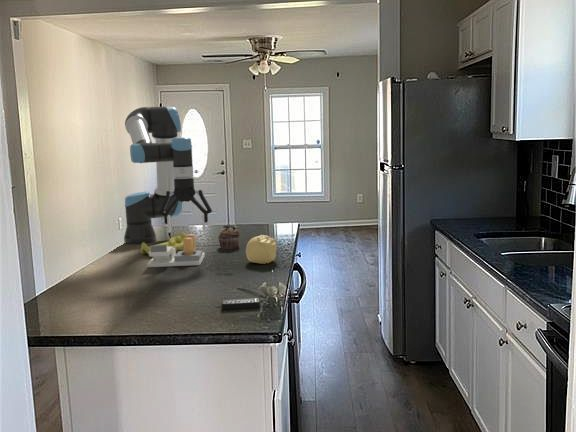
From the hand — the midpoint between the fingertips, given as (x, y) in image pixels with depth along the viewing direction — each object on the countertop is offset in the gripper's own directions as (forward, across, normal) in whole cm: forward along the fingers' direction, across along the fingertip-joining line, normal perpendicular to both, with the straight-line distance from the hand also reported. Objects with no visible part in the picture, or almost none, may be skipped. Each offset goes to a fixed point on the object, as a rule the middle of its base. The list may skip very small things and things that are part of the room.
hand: (187, 231), depth 219 cm
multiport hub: (+11, +24, -62) cm, 68 cm away
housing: (+12, -5, +1) cm, 13 cm away
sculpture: (+12, +29, -7) cm, 32 cm away
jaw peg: (+11, 0, -1) cm, 11 cm away
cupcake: (+13, +14, +25) cm, 32 cm away
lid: (+8, -10, -4) cm, 13 cm away
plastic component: (+13, -12, +20) cm, 27 cm away
